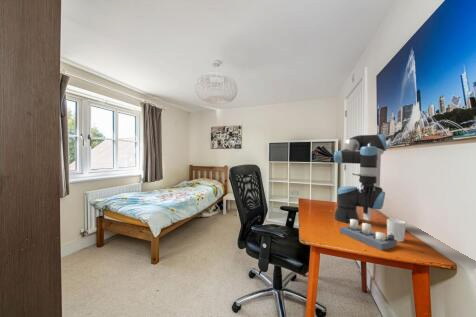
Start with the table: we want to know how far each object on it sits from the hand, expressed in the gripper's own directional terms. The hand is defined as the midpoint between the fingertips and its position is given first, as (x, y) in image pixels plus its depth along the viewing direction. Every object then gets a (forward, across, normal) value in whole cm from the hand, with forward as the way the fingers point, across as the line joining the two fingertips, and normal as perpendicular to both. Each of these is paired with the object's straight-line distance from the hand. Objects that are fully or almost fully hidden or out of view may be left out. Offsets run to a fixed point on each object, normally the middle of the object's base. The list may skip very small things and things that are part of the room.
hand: (366, 219), depth 102 cm
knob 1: (+8, 0, -7) cm, 10 cm away
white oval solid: (+8, 0, 0) cm, 8 cm away
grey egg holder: (+11, 0, 0) cm, 11 cm away
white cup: (+11, -15, +6) cm, 20 cm away
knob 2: (+10, 0, +7) cm, 12 cm away
